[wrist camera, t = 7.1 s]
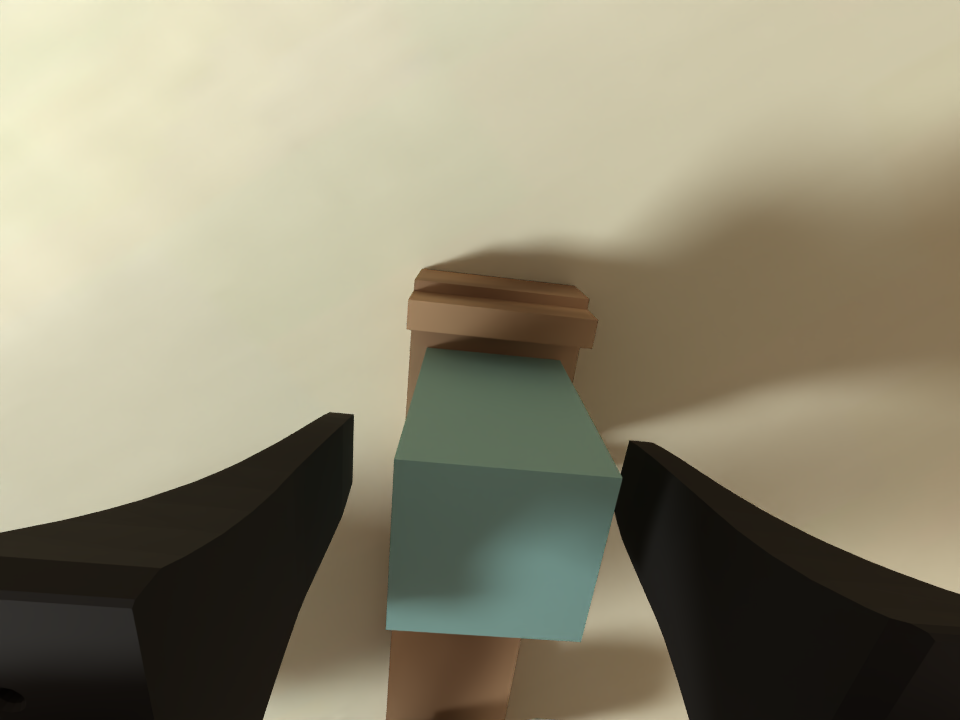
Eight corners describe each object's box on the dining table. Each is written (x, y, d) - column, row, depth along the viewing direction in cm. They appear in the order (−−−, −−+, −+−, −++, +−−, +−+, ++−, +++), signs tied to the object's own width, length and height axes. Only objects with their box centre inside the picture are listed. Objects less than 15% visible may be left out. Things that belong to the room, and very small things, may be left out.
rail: (388, 746, 23) (347, 1018, 15) (421, 268, 15) (368, 347, 7) (487, 751, 23) (494, 1021, 15) (574, 285, 15) (680, 379, 7)
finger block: (417, 478, 15) (384, 650, 9) (426, 347, 13) (394, 459, 8) (537, 488, 15) (575, 662, 9) (559, 360, 14) (622, 478, 8)
